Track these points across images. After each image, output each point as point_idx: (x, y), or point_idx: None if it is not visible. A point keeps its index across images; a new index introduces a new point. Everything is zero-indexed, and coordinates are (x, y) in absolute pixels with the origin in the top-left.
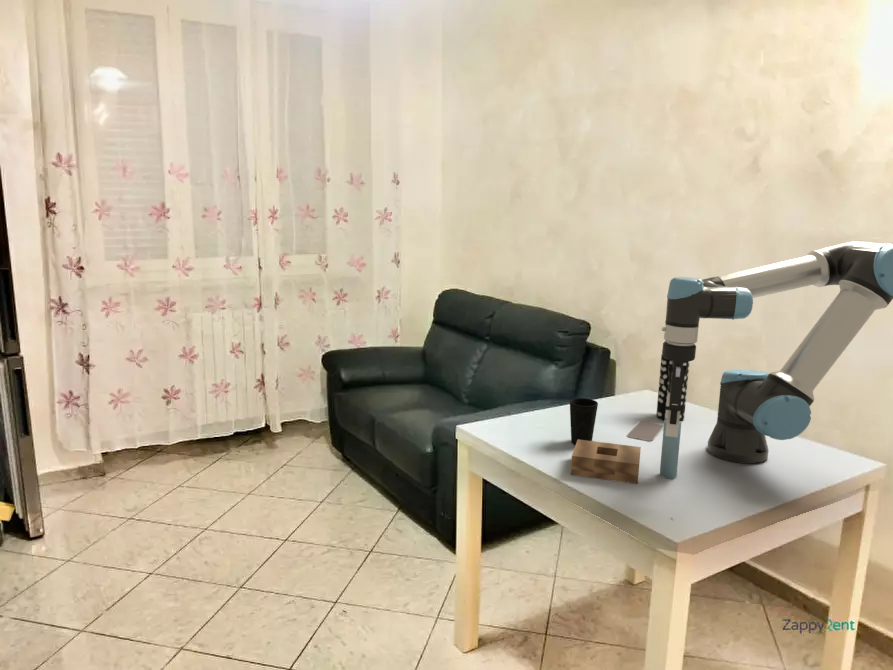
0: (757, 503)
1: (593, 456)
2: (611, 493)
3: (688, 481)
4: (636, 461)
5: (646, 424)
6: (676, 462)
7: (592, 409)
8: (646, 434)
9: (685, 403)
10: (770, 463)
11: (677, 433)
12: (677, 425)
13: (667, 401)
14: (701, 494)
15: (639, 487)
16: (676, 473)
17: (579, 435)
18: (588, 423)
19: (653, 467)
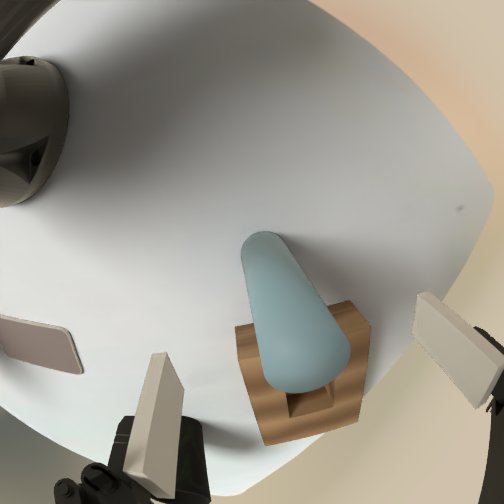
0: (330, 33)
1: (351, 403)
2: (402, 323)
3: (279, 196)
4: (353, 338)
5: (10, 345)
6: (283, 248)
7: (192, 485)
8: (47, 342)
9: None
10: (44, 47)
11: (438, 299)
12: (459, 321)
13: (174, 458)
14: (348, 155)
15: (364, 292)
16: (269, 234)
17: (203, 444)
18: (196, 459)
19: (227, 296)
